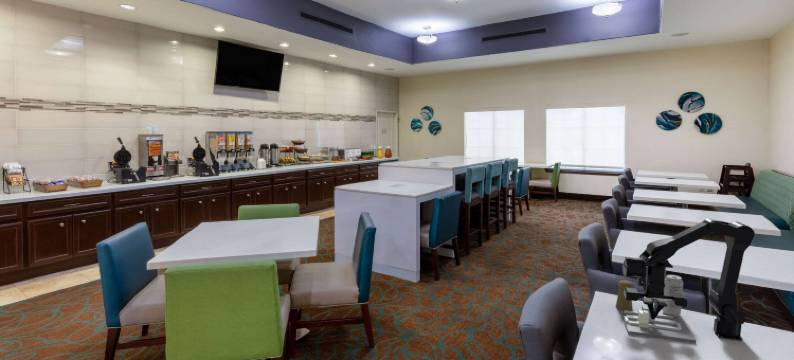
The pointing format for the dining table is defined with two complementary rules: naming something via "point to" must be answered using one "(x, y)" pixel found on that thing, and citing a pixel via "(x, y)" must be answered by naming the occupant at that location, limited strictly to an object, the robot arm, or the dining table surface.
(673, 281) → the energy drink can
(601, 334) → the dining table surface
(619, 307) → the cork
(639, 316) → the fader cap
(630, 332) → the console board
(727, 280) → the robot arm
